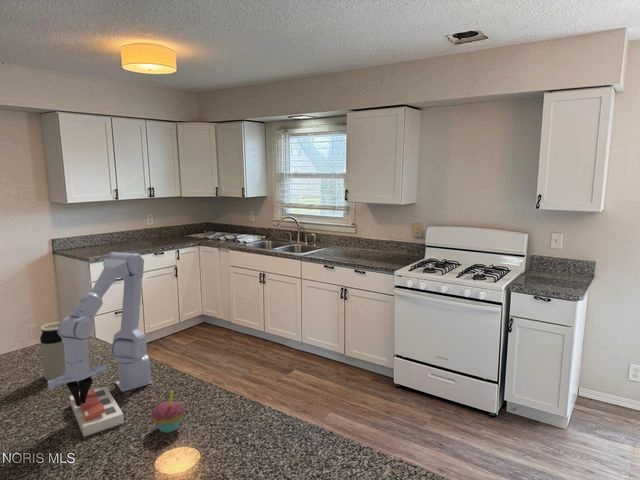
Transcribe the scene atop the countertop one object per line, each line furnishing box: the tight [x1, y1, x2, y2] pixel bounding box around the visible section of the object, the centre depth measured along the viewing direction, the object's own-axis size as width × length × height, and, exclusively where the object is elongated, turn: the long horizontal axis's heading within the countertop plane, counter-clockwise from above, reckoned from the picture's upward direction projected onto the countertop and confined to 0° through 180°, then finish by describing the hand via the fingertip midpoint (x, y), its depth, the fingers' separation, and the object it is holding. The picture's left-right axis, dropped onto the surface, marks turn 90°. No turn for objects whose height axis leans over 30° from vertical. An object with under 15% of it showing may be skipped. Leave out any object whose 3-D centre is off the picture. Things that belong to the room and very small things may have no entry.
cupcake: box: [150, 388, 185, 434], centre depth 117 cm, size 9×8×12 cm
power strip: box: [69, 385, 125, 437], centre depth 128 cm, size 10×30×3 cm, turn 39°
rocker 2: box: [82, 403, 105, 421], centre depth 118 cm, size 5×4×1 cm
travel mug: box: [39, 321, 66, 381], centre depth 146 cm, size 8×8×18 cm
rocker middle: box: [79, 397, 100, 410], centre depth 123 cm, size 5×4×1 cm
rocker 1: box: [79, 388, 96, 399], centre depth 128 cm, size 5×4×1 cm
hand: (80, 404), depth 122 cm, fingers closed, pressing on rocker middle
